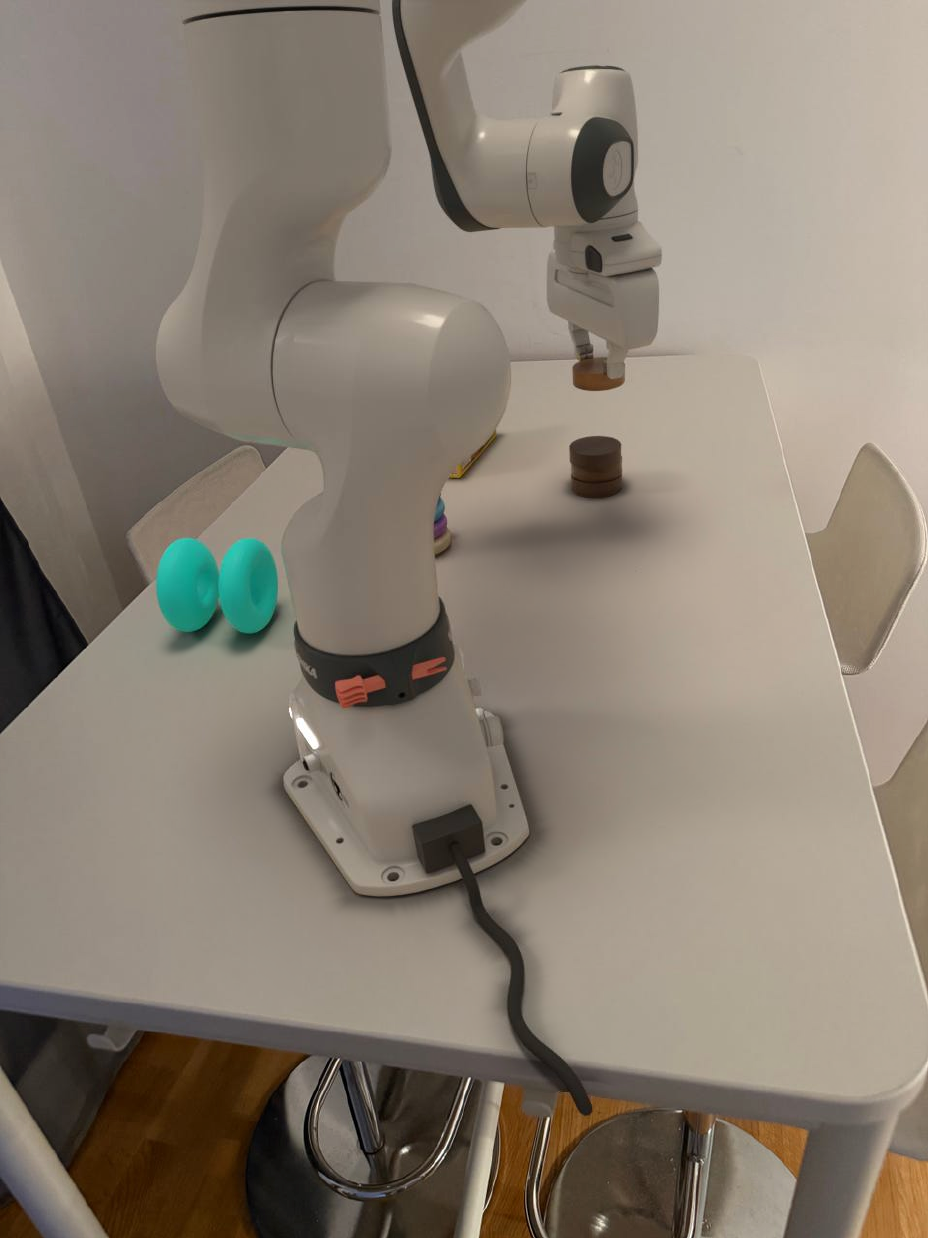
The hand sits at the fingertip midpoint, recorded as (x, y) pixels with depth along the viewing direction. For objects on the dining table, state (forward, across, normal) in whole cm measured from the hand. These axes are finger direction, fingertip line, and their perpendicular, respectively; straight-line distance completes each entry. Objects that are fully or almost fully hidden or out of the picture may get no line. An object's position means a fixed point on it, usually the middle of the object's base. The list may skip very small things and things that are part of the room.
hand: (598, 368), depth 106 cm
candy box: (+18, -25, -8) cm, 32 cm away
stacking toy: (+18, -2, -24) cm, 30 cm away
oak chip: (+2, 0, 0) cm, 2 cm away
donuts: (+18, +5, -48) cm, 51 cm away
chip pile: (+18, -6, +2) cm, 19 cm away
